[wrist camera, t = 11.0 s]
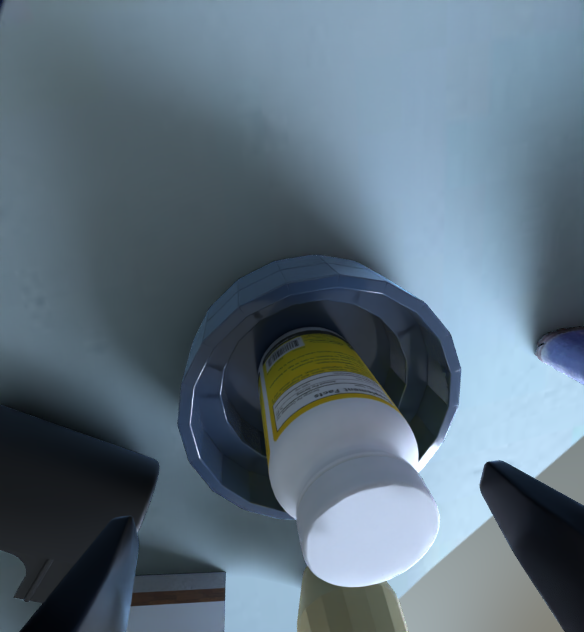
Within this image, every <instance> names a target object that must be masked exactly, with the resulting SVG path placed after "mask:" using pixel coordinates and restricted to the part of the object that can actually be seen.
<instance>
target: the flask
mask: <svg viewBox="0 0 584 632" xmlns="http://www.w3.org/2000/svg"><path fill="white" fill-rule="evenodd" d="M542 343H544V345H543V346H542V345H541V346H540V347H539V348H538V346H539V345H540V344H542ZM536 350H537V351H536V352H535V353H534V354H535V355H536V356H537V357H538V358H539V359H540V360H541V361H542V362H544V363H545V364H547V365H550V366H552V367H553V368H555V369H556V370H558V371H560V372H562V373H564V374H565V375H567V376H569V377H571V378H572V379H574V380H576V381H578V382H579V383H581V384H583V385H584V326H583V327H582V326H579V327H573V328H572V327H570V328H562V329H559V330H556V331H553V332H549V333H548V334H545V335H543V337H542V338H541V339H540V340H539V341H538V343H537V348H536Z"/></svg>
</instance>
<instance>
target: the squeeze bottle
mask: <svg viewBox="0 0 584 632" xmlns="http://www.w3.org/2000/svg"><path fill="white" fill-rule="evenodd" d="M297 632H409V631H408V628H407V625H406V621H405V618H404V615H403V611H402V608H401V605H400V602H399V600H398V598H397V596H396V594H395V592H394V591H393V589H392V588H391V587H390V585H389V584H388V583H387V581H384V582H380V583H377V584H373V585H368V586H361V587H344V586H337V585H333V584H331V583H328V582H326V581H324V580H322V579H320V578H318V577H317V576H316V575H315V574H314V573H313V572H312V571H311V570H310V569H309V567H308V566H307V567H306V568H305V570H304V572H303V578H302V586H301V595H300V603H299V611H298V619H297Z"/></svg>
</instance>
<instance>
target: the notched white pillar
mask: <svg viewBox="0 0 584 632" xmlns="http://www.w3.org/2000/svg"><path fill="white" fill-rule="evenodd" d="M225 580H226V572H216V573H192V574H168V575H145V576H135V579H134V586H133V593H132V599H131V606H130V613H129V619H128V625H127V631H126V632H224V621H225Z"/></svg>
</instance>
